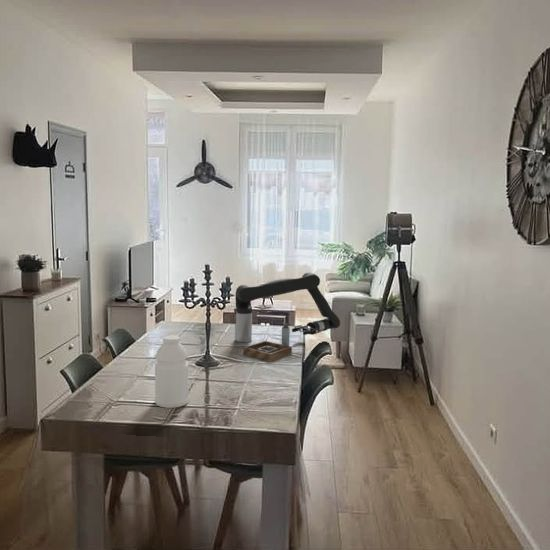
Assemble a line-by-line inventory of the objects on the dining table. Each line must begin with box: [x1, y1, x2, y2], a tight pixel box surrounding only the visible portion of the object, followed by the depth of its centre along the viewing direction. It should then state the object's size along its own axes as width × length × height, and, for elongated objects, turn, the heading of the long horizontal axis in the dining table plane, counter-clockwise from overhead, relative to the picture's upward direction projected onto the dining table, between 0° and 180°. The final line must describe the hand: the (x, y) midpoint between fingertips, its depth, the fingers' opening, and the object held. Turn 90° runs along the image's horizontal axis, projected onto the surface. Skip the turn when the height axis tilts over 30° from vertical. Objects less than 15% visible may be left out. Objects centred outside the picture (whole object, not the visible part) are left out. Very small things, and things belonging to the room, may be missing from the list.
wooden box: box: [242, 340, 293, 362], centre depth 298 cm, size 19×19×4 cm
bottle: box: [154, 334, 190, 409], centre depth 225 cm, size 14×14×28 cm
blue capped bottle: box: [281, 323, 290, 346], centre depth 309 cm, size 4×4×14 cm
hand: (297, 331), depth 317 cm, fingers open, 8 cm apart
